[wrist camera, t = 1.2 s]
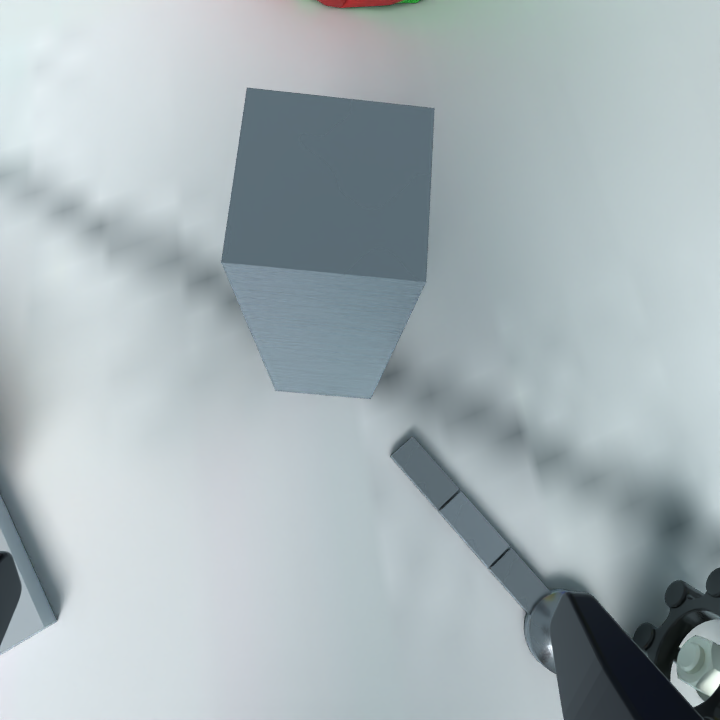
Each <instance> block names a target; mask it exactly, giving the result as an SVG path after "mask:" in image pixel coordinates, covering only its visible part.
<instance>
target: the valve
mask: <svg viewBox="0 0 720 720" xmlns="http://www.w3.org/2000/svg"><path fill="white" fill-rule="evenodd" d="M706 590H707V592H706V593H705V594H703V593H702V592H700V591H699V590H697V589H695V588H694V587H692V586H690V585H689V584H687V583H686V582H684V581H682V580H677V581H674V582H673V583H672V584H671V585H670V586H669V587H668V589H667V591H666V593H665V602H666V604H667V606H668V607H670V613H669V616H668V617H667V619H666V620H665V621H664V623H663V624H662V625H661V626H660V627H659V628H657V627H655V626H654V625H652V624H650V623H643V624H642V625H640V626H639V627H638V629H637V630H636V632H635V635H634V639H633V641H634V642H635V643H636V644H637V646H638V647H639V648H640V649H641V650H642V651H643V652H644V653H645V654H646V656H648V658H649V659H650V660H651V661H652V662H653V663H654V664H655V666H656V667H657V668H658V669H659V670H660V671H661V672H662V673H663V674H664V676H665V677H666V678H667V679H668V680H669V681H670V674H671V667H672V663H673V662H674V663H676V664H677V675H678V678H679V679H680V680H682V681H683V682H685V683H687V684H688V685H690V686H691V687H693V688H695V689H696V691H697V693H698V695H699V696H700V698H701V699H702V700H703V701H705V702H703V703H701V704H700V705H698V706H696V707H693V708H694V709H695V710H696V711H697V712H698V713H699V715H700V716H701V717H702V718H703V719H704V720H720V645H717V644H716V643H714V642H712V641H710V640H708V639H705V638H703V637H700V636H696V635H695V636H693V637H692V638H690V639H689V640H688V641H687V642H686V643H685V644H684V645H683V646H682V648H679V646H680V644H681V642H682V641H683V639H684V638H685V636H686V635H687V634H688V633H689V632H690V631H691V630H692V629H693V628H695V627H696V626H697V625H699V624H701V623H703V622H705V621H709V620H713V619H720V568H717V569H715V570H714V571H712V573H711V574H710V575H709V577H708V579H707V582H706Z"/></svg>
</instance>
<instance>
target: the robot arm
mask: <svg viewBox="0 0 720 720" xmlns="http://www.w3.org/2000/svg"><path fill="white" fill-rule="evenodd" d="M21 591H22V584H21V580H20V577H19V574H18V571H17V568H16V565H15V562H14V558H13V556H12V554H11V553H9V552H8V551H0V646H1V644H2V641H3V639H4V636H5V634H6V631H7V629H8V627H9V624H10V622H11V619H12V617H13V614H14V612H15V609H16V607H17V604H18V602H19V599H20V596H21ZM550 638H551V644H552V650H553V657H554V663H555V669H556V675H557V681H558V687H559V693H560V700H561V706H562V712H563V718H564V720H704V719H703V718H702V717H701V716H700V715H699V713H698V712H697V711H696V710H695V709H694V708H693V707H692V706H691V705H690V703H689V702H688V701H687V700H686V699H685V698H684V697H683V696H682V694H681V693H680V692H679V691H678V690H677V689H676V688H675V687H674V686H673V684H672V683H671V682H670V681H669V680H668V679H667V678H666V677H665V676H664V674H663V673H662V672H661V671H660V670H659V669H658V668H657V667H656V666H655V664H654V663H653V662H652V661H651V660H650V659H649V658H648V657H647V656H646V654H645V653H644V652H643V651H642V650H641V649H640V648H639V647H638V646H637V644H636V643H635V642H634V641H633V640H632V639H631V638H630V637H629V636H628V634H627V633H626V632H625V631H624V630H623V629H622V628H621V627H620V625H619V624H618V623H617V622H616V621H615V620H614V619H613V618H612V617H611V615H610V614H609V613H608V612H607V611H606V610H605V609H604V608H603V607H602V605H601V604H600V603H599V602H598V601H597V600H596V599H595V598H594V597H593V596H592V595H591V594H589V593H586V592H575V591H566V592H565V593H563V594H562V596H561V598H560V600H559V603H558V605H557V607H556V609H555V612H554V614H553V616H552V618H551V622H550Z"/></svg>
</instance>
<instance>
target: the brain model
mask: <svg viewBox="0 0 720 720" xmlns="http://www.w3.org/2000/svg"><path fill="white" fill-rule="evenodd" d="M317 1H319V2H321V3H322V4H324V5H326V6H332V7H339V8H346V7H365V6H383V5H392V4H396V3H416V2H418V1H420V0H317Z"/></svg>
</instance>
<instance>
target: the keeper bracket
mask: <svg viewBox="0 0 720 720" xmlns="http://www.w3.org/2000/svg"><path fill="white" fill-rule="evenodd" d="M0 551H8V552H9V553H11V554H12V556H13V558H14V562H15V565H16V568H17V571H18V574H19V577H20V580H21V584H22V591H21V596H20V599H19V602H18V604H17V607H16V609H15V612H14V614H13V617H12V619H11V622H10V624H9V627H8V629H7V631H6V634H5V636H4V639H3V641H2V644H1V646H0V655H1V654H3V653H5V652H6V651H8V650H10V649H11V648H13V647H15V646H17V645H18V644H20V643H22V642H23V641H25V640H27V639H28V638H30V637H32V636H33V635H35V634H37V633H38V632H40V631H42V630H44V629H45V628H47V627H49V626H50V625H52V624H54V623H55V622H57V620H56V618H55V615H54V613H53V611H52V609H51V606H50V604H49V602H48V600H47V597H46V595H45V593H44V591H43V589H42V586H41V584H40V582H39V580H38V577H37V575H36V573H35V571H34V568H33V566H32V564H31V562H30V559H29V557H28V555H27V553H26V550H25V548H24V546H23V544H22V542H21V539H20V537H19V535H18V533H17V530H16V528H15V526H14V524H13V521H12V519H11V517H10V515H9V512H8V510H7V508H6V506H5V503H4V501H3V499H2V497H1V495H0Z"/></svg>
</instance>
